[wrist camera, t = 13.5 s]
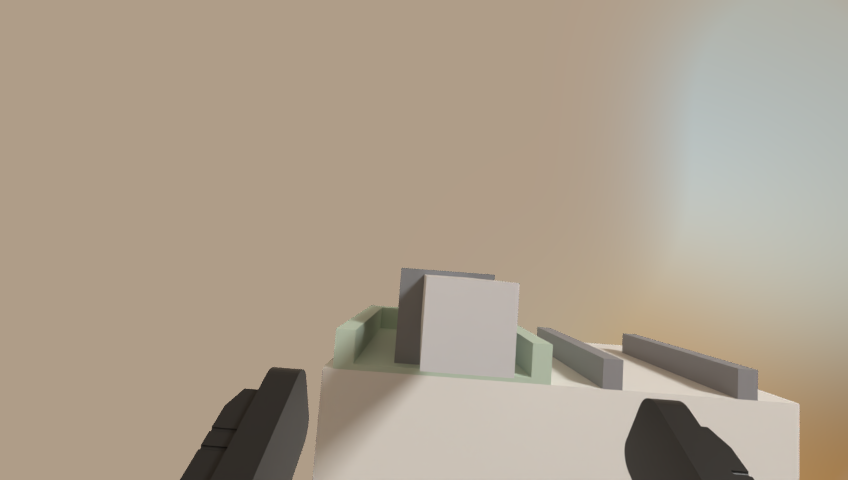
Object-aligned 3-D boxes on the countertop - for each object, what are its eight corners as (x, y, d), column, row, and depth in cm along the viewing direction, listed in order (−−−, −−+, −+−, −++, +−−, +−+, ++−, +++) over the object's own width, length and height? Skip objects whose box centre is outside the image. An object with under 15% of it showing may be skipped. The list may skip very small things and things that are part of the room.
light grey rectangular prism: (557, 470, 11) (566, 277, 11) (365, 455, 11) (380, 263, 11) (467, 339, 32) (472, 274, 32) (403, 334, 32) (408, 269, 32)
